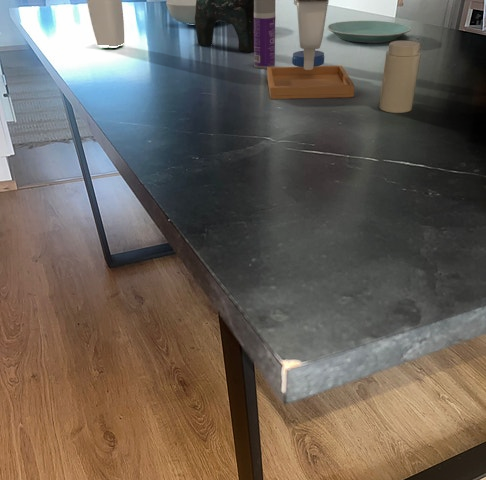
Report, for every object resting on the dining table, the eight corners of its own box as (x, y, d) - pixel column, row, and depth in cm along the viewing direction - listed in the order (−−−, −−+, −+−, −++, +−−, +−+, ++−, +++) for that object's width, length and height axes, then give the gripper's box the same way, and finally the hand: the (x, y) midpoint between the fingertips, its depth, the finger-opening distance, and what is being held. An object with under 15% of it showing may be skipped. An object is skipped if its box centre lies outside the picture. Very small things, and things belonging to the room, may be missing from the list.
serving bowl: (163, 21, 173) (160, -3, 169) (224, 16, 177) (223, -7, 173) (175, 32, 156) (173, 6, 152) (242, 26, 161) (242, 1, 157)
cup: (92, 49, 139) (81, -15, 130) (106, 44, 144) (96, -19, 135) (117, 50, 137) (107, -15, 128) (130, 45, 142) (121, -19, 134)
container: (273, 68, 117) (274, -8, 109) (252, 68, 118) (252, -8, 109) (275, 63, 121) (276, -11, 112) (255, 63, 122) (255, -11, 113)
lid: (287, 66, 101) (288, 56, 100) (298, 59, 106) (298, 49, 105) (318, 68, 99) (318, 58, 98) (327, 60, 103) (328, 51, 102)
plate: (369, 27, 155) (370, 16, 154) (427, 39, 140) (429, 27, 138) (309, 36, 146) (310, 25, 144) (365, 50, 130) (366, 38, 129)
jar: (407, 102, 95) (417, 39, 89) (415, 112, 90) (426, 46, 84) (376, 103, 95) (384, 40, 89) (382, 113, 90) (391, 47, 84)
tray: (340, 75, 111) (341, 65, 110) (353, 97, 98) (354, 85, 97) (267, 77, 111) (267, 67, 110) (270, 99, 99) (270, 87, 97)
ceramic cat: (265, 50, 133) (265, -43, 121) (249, 55, 129) (247, -41, 117) (207, 42, 143) (202, -45, 132) (190, 46, 139) (184, -43, 128)
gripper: (294, -23, 103) (292, 52, 111) (294, -11, 86) (291, 77, 94) (327, -24, 102) (322, 52, 110) (332, -11, 86) (326, 77, 94)
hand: (308, 64), depth 102 cm, fingers closed on lid, 6 cm apart
